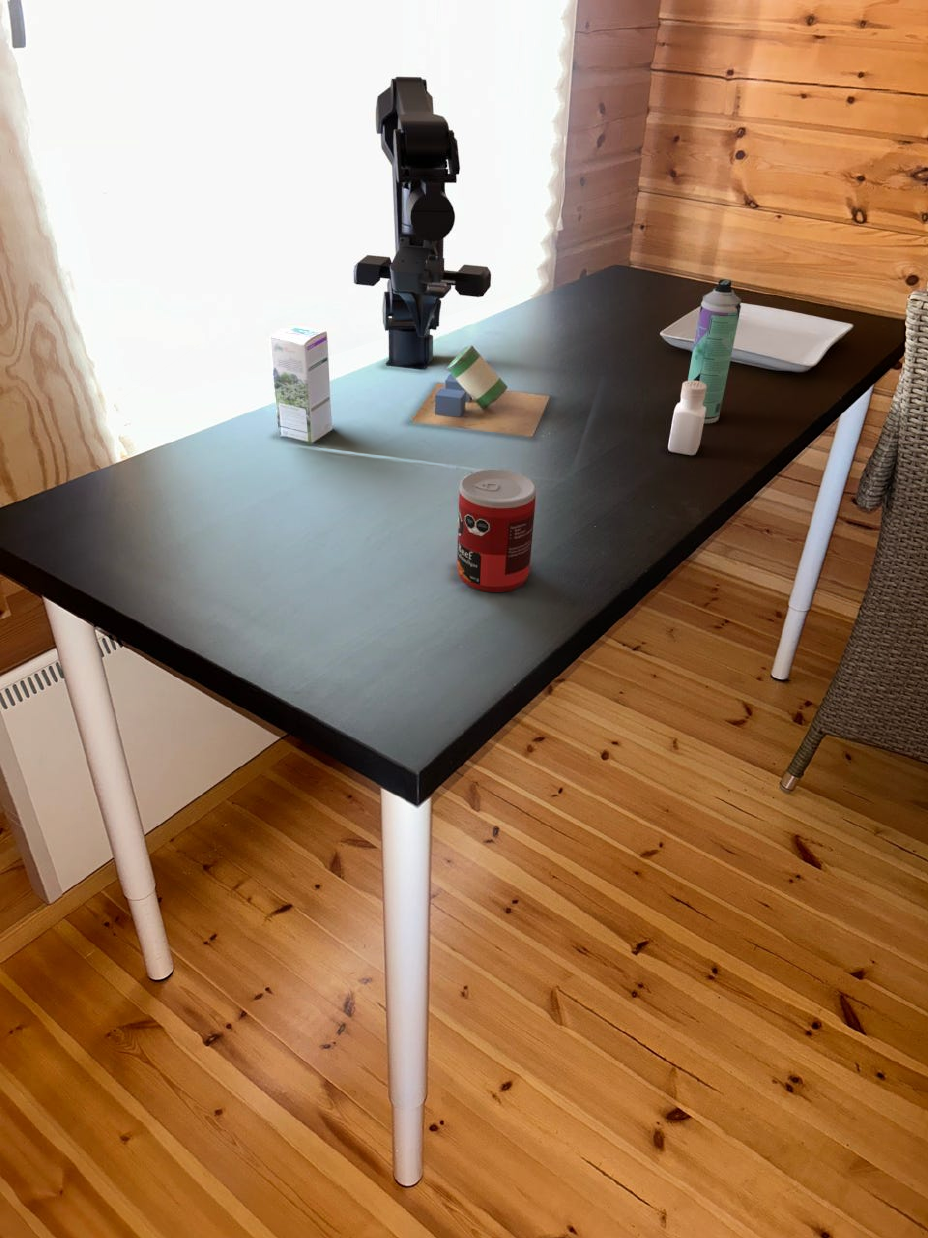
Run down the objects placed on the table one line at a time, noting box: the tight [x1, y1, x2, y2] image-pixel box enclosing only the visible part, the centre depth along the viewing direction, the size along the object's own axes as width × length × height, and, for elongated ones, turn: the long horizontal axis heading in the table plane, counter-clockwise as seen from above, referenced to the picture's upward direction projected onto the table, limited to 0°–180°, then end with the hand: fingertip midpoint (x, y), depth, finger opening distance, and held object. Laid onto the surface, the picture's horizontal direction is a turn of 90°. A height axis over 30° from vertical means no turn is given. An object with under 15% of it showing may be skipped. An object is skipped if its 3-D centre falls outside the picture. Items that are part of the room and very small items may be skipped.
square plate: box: [659, 302, 854, 373], centre depth 170 cm, size 27×27×4 cm
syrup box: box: [269, 324, 333, 444], centre depth 129 cm, size 6×6×14 cm
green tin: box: [446, 344, 508, 410], centre depth 140 cm, size 9×5×9 cm, turn 77°
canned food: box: [456, 469, 537, 593], centre depth 102 cm, size 8×8×11 cm
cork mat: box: [410, 382, 551, 438], centre depth 143 cm, size 18×16×1 cm
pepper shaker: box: [667, 380, 707, 456], centre depth 131 cm, size 4×4×10 cm
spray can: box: [687, 278, 742, 424], centre depth 138 cm, size 6×6×20 cm
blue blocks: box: [435, 373, 472, 417], centre depth 142 cm, size 4×9×3 cm, turn 167°
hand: (422, 335), depth 139 cm, fingers closed
